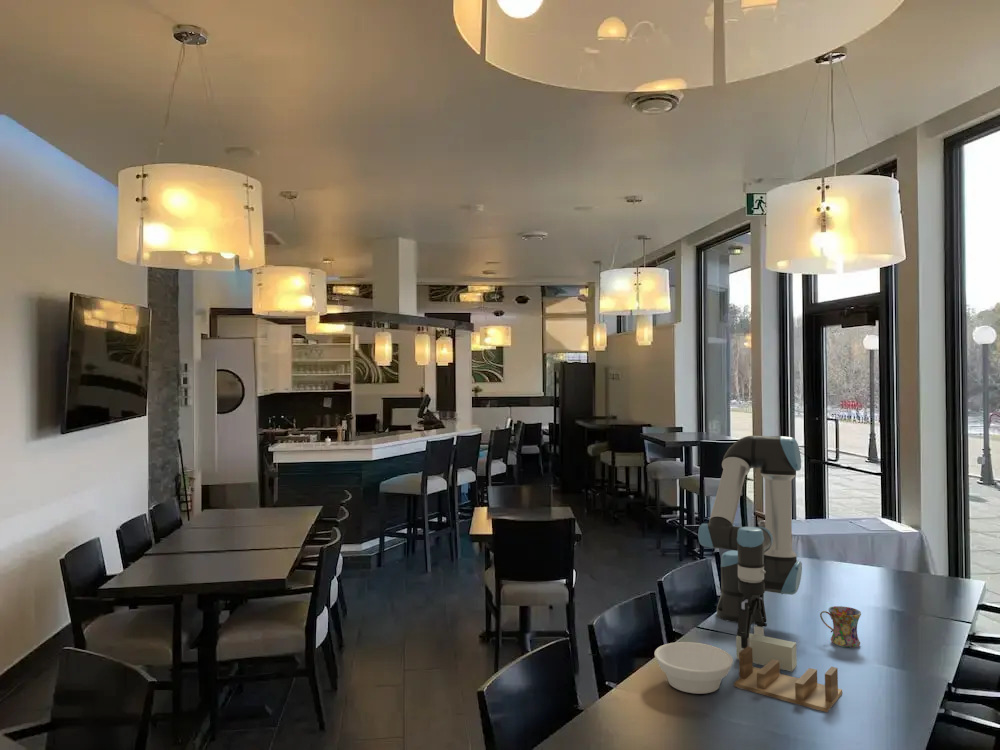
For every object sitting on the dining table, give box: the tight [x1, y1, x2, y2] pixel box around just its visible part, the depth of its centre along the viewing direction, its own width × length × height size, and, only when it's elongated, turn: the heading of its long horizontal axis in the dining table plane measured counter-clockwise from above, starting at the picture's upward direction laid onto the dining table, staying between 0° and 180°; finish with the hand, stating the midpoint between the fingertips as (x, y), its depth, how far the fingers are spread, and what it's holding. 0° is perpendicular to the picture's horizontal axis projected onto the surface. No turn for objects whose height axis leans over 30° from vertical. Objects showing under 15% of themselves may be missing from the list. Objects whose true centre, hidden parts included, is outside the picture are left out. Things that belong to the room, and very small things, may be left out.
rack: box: [733, 647, 843, 713], centre depth 186 cm, size 24×14×8 cm, turn 49°
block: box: [735, 632, 798, 672], centre depth 205 cm, size 16×5×7 cm, turn 53°
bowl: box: [654, 641, 734, 694], centre depth 190 cm, size 21×21×8 cm
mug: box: [819, 605, 862, 648], centre depth 219 cm, size 12×9×11 cm
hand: (752, 653), depth 207 cm, fingers open, 10 cm apart
